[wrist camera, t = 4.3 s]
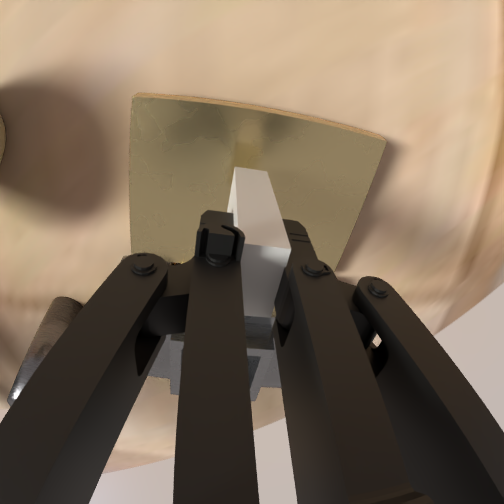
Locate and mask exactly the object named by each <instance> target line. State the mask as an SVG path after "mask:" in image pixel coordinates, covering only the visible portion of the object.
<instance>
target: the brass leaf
mask: <svg viewBox="0 0 504 504" xmlns="http://www.w3.org/2000/svg"><path fill="white" fill-rule="evenodd" d="M386 143H387V141H386V140H385V139H384V138H383V137H382V136H381V135H378V134H375V133H372V132H368V131H365V130H361V129H358V128H354V127H350V126H347V125H343V124H339V123H335V122H331V121H327V120H323V119H319V118H314V117H310V116H306V115H301V114H296V113H292V112H287V111H282V110H277V109H271V108H266V107H260V106H254V105H248V104H242V103H236V102H229V101H222V100H214V99H206V98H198V97H188V96H178V95H166V94H152V93H137V94H136V95H134V96H133V97H132V109H131V128H130V160H129V200H130V233H131V252H132V254H135V253H144V252H145V253H152V254H155V255H158V256H160V257H162V258H163V259H164V260H165V261H166V262H174V263H185V262H187V261H189V260H190V259H192V258H193V256H194V254H195V244H196V235H197V230H198V228H199V225H200V219H201V215H202V214H203V213H204V212H205V211H207V210H213V211H221V212H227V209H228V203H229V197H230V192H231V186H232V180H233V174H234V168H235V167H241V168H248V169H255V170H261V171H267V173H268V176H269V179H270V182H271V185H272V188H273V192H274V195H275V198H276V201H277V204H278V207H279V211H280V214H281V217H282V219H288V220H294V221H298V222H299V223H300V224H302V225H303V226H304V227H305V228H306V231H307V233H308V237H309V238H310V240H311V243H312V245H313V248H314V250H315V253H316V255H317V258H318V260H320V261H322V262H324V263H326V264H327V265H328V266H330V267H331V269H332V270H333V272H334V271H335V269H336V267H337V265H338V263H339V260H340V258H341V256H342V253H343V251H344V249H345V247H346V244H347V242H348V240H349V237H350V235H351V233H352V230H353V228H354V226H355V223H356V221H357V218H358V216H359V213H360V211H361V209H362V206H363V204H364V201H365V199H366V196H367V194H368V191H369V188H370V186H371V183H372V181H373V178H374V175H375V173H376V170H377V168H378V165H379V162H380V159H381V157H382V154H383V151H384V149H385V146H386ZM271 317H273V318H276V311H275V306H274V309H273V312H272V315H271Z"/></svg>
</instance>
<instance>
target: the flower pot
mask: <svg viewBox="0 0 504 504" xmlns="http://www.w3.org/2000/svg"><path fill="white" fill-rule="evenodd" d="M5 143H6V132H5V126H4V122H3V119H2V117H1V114H0V164H1V160H2V157H3V153H4V149H5Z"/></svg>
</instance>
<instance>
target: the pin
mask: <svg viewBox="0 0 504 504" xmlns="http://www.w3.org/2000/svg"><path fill="white" fill-rule="evenodd" d="M82 308H83V307H82V306H81V305H80V304H79V303H78V302H76V301H74V300H73V299H70V298H67V297H58V298H55V299H54V300H53V302H52V303H51V305H50V307H49V309H48V311H47V313H46V315H45V317H44V319H43V321H42V323H41V325H40V327H39V329H38V331H37V333H36V335H35V337H34V339H33V341H32V343H31V345H30V347H29V349H28V352H27V354H26V356H25V358H24V360H23V363H22V365H21V367H20V370H19V372H18V374H17V377H16V379H15V381H14V384H13V386H12V389H11V391H10V394H9V396H8V399H7V401H8V404H9V405H10V406H12V404H13V403H14V401H15V400H16V398H17V397H18V395H19V394H20V392H21V391H22V389H23V388H24V386H25V385H26V383H27V382H28V380H29V379H30V378H31V376H32V375H33V373H34V372H35V370H36V369H37V368H38V366H39V365H40V363H41V362H42V361H43V359H44V358H45V356H46V355H47V354H48V352H49V351H50V350H51V348H52V347H53V346H54V344H55V343H56V342H57V340H58V339H59V338H60V336H61V335H62V334H63V332H64V331H65V330H66V328H67V327H68V326H69V325H70V323H71V322H72V321H73V319H74V318H75V317H76V316H77V314H78V313H79V312H80V311H81V309H82Z"/></svg>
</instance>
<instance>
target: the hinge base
mask: <svg viewBox="0 0 504 504" xmlns="http://www.w3.org/2000/svg"><path fill="white" fill-rule="evenodd" d="M126 257H127V256H124V257H123V258H122V260H123V259H125V258H126ZM122 260H121V261H122ZM120 263H121V262H120ZM167 265H168V266H170V265H172V262H167ZM244 319H245V333H246V346H247V360H248V373H249V386H250V398H251V401H255V400H256V398H257V395H258V393H259V390H260V388H261V387H276V388H281V382H280V375H279V368H278V361H277V354H276V348H275V341H274V338H273V340H272V343H271V345H268V339H269V336H270V333H271V330H272V327H273V324H274V321H275V318H273V317H271V318H269V317H256V316H244ZM184 336H185V332H183V333H177V334H170V335H166V339H165V341H164V343H163V345H162V347H161V349H160V351H159V353H158V355H157V357H156V359H155V361H154V363H153V365H152V367H151V370H150V372H149V374H148V376H153V377H160V378H168V379H170V389H171V394H175V395H179V389H180V377H181V366H182V356H183V346H184Z"/></svg>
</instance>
